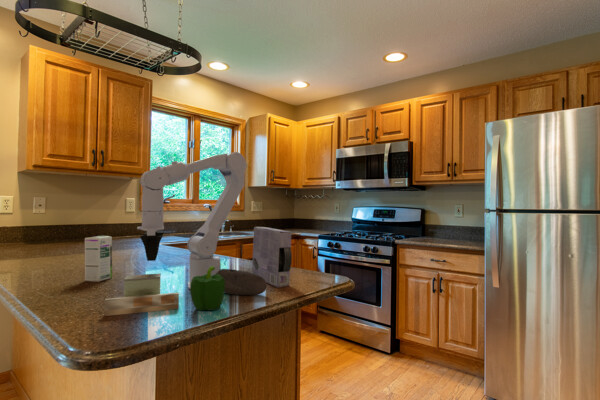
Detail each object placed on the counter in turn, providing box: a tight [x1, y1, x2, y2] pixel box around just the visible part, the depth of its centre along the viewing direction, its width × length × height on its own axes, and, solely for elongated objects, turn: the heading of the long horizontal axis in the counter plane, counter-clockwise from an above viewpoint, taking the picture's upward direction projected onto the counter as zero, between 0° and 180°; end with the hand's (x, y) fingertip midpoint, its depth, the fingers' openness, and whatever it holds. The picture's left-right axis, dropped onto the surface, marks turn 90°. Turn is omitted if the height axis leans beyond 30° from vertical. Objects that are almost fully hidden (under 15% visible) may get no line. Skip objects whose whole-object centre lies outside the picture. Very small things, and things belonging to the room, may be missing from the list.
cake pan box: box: [251, 226, 293, 289], centre depth 112 cm, size 19×5×18 cm, turn 34°
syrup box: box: [84, 235, 113, 283], centre depth 113 cm, size 6×6×14 cm
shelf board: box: [104, 292, 180, 317], centre depth 85 cm, size 16×11×4 cm
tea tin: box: [123, 273, 161, 297], centre depth 86 cm, size 8×5×6 cm, turn 110°
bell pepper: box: [190, 266, 225, 311], centre depth 83 cm, size 8×8×10 cm
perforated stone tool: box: [216, 268, 268, 296], centre depth 96 cm, size 15×5×7 cm, turn 75°
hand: (152, 258), depth 97 cm, fingers open, 7 cm apart
